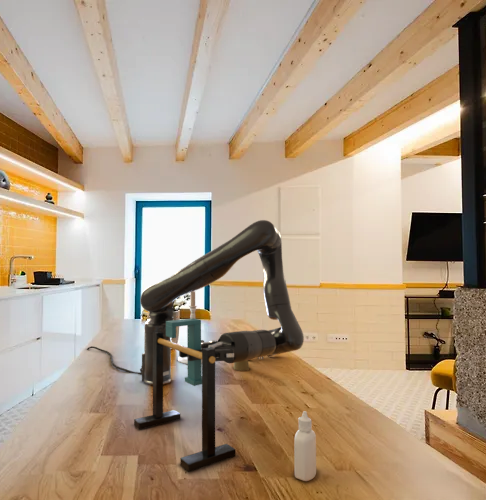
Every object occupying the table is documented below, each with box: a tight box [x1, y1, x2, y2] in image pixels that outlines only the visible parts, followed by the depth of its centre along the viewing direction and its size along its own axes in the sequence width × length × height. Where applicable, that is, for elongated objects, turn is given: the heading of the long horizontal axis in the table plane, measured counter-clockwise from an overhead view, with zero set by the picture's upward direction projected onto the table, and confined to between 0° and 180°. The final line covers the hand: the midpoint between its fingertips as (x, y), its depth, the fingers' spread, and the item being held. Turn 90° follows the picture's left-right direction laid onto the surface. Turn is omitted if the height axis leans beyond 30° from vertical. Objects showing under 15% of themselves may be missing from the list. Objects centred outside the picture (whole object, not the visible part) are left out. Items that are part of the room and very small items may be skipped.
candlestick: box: [177, 290, 202, 365], centre depth 160 cm, size 13×13×30 cm
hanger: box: [166, 318, 202, 387], centre depth 89 cm, size 10×4×15 cm, turn 121°
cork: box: [233, 360, 250, 372], centre depth 147 cm, size 6×6×11 cm
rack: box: [133, 331, 237, 473], centre depth 88 cm, size 12×25×23 cm, turn 31°
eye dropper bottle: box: [293, 410, 317, 482], centre depth 73 cm, size 4×6×12 cm
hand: (184, 354), depth 88 cm, fingers closed on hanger, 3 cm apart
